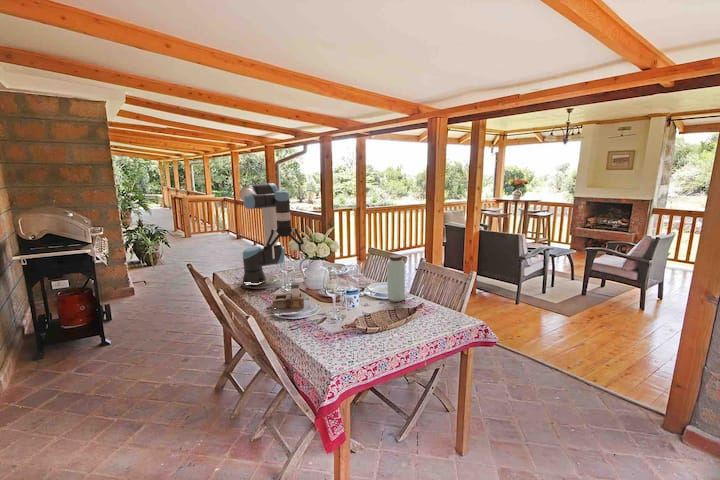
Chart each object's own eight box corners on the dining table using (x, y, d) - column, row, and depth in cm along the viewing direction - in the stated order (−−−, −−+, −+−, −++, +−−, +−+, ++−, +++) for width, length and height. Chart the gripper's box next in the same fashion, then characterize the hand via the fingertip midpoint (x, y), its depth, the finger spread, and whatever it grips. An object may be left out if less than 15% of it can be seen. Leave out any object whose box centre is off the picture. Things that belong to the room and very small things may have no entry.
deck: (289, 296, 209) (289, 294, 209) (306, 295, 210) (306, 293, 210) (288, 302, 199) (288, 301, 199) (306, 301, 201) (306, 299, 200)
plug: (292, 303, 195) (291, 282, 193) (300, 302, 196) (298, 282, 193) (292, 306, 192) (291, 285, 189) (300, 305, 192) (298, 284, 190)
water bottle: (384, 301, 198) (384, 257, 192) (390, 294, 207) (389, 253, 201) (402, 303, 194) (402, 259, 189) (407, 296, 203) (406, 254, 198)
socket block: (274, 304, 197) (274, 294, 196) (304, 302, 199) (303, 291, 198) (273, 312, 187) (272, 301, 186) (304, 309, 190) (303, 298, 188)
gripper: (259, 222, 186) (262, 260, 191) (306, 219, 190) (309, 257, 195) (260, 219, 193) (263, 256, 199) (306, 217, 197) (308, 254, 202)
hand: (286, 257), depth 197 cm, fingers open, 13 cm apart
